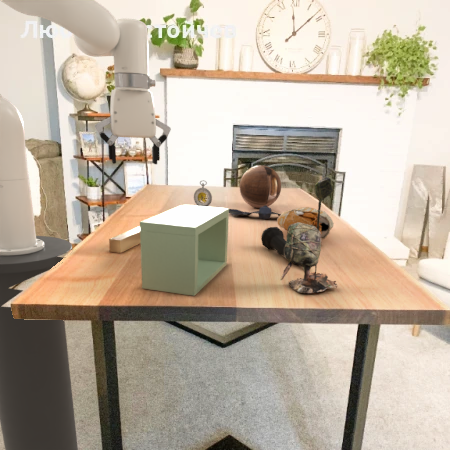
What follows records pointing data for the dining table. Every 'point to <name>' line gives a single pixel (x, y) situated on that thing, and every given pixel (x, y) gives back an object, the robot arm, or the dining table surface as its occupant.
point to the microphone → (275, 240)
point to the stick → (125, 240)
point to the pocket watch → (202, 196)
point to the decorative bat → (263, 212)
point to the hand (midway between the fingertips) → (134, 163)
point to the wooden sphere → (260, 186)
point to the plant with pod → (308, 248)
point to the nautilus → (306, 219)
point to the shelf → (183, 248)
